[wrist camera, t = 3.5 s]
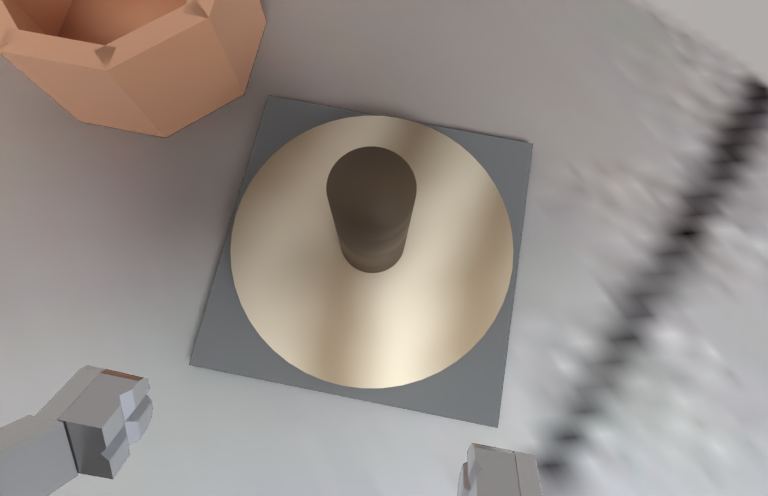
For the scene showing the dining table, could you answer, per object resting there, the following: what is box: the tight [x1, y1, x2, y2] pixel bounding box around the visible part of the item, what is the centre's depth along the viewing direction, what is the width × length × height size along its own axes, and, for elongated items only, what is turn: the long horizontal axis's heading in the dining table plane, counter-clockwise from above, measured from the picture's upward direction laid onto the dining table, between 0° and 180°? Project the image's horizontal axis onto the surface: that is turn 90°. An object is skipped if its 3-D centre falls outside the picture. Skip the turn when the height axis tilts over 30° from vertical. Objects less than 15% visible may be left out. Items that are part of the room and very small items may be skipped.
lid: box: [230, 116, 513, 388], centre depth 21 cm, size 14×14×8 cm
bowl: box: [0, 0, 267, 138], centre depth 25 cm, size 12×12×6 cm
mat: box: [189, 95, 533, 428], centre depth 25 cm, size 15×15×1 cm
